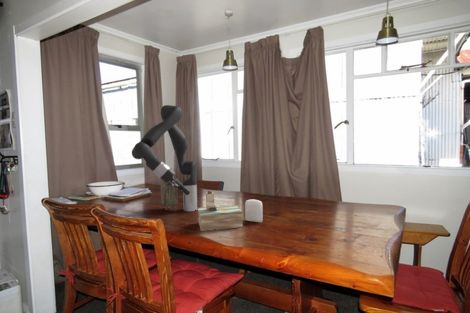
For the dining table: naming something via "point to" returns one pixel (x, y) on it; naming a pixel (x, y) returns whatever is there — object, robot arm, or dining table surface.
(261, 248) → the dining table surface
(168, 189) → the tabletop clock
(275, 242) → the dining table surface
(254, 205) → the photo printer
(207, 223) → the rectangular block
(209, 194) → the wooden knobbed block
